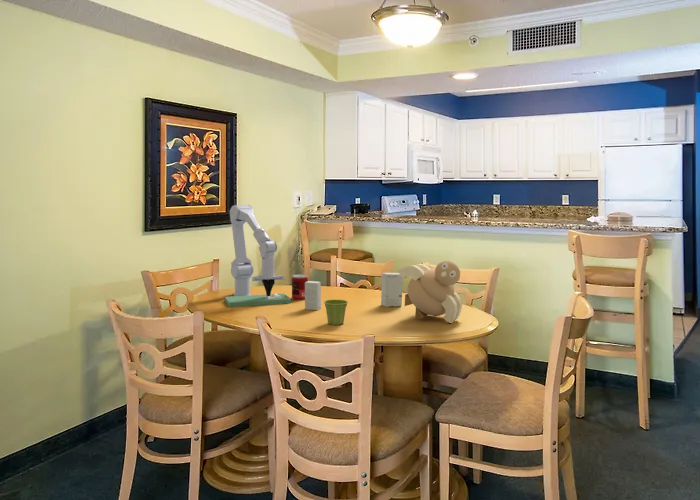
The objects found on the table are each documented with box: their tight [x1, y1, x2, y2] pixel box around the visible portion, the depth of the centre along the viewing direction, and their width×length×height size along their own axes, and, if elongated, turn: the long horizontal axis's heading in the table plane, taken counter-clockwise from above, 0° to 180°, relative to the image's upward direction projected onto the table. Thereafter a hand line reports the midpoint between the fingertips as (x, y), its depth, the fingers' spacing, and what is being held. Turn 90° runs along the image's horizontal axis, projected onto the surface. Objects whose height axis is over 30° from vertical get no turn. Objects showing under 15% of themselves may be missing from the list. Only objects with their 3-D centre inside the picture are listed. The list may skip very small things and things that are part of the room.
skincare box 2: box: [380, 272, 404, 308], centre depth 250 cm, size 8×6×15 cm
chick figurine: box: [397, 260, 463, 324], centre depth 224 cm, size 30×28×23 cm
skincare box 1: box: [304, 280, 322, 311], centre depth 241 cm, size 6×4×12 cm
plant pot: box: [323, 299, 349, 326], centre depth 216 cm, size 9×9×9 cm
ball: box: [271, 292, 278, 298], centre depth 259 cm, size 4×4×4 cm
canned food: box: [291, 273, 309, 301], centre depth 265 cm, size 8×8×11 cm
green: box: [224, 292, 292, 308], centre depth 255 cm, size 14×28×2 cm, turn 110°
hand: (268, 295), depth 257 cm, fingers closed
